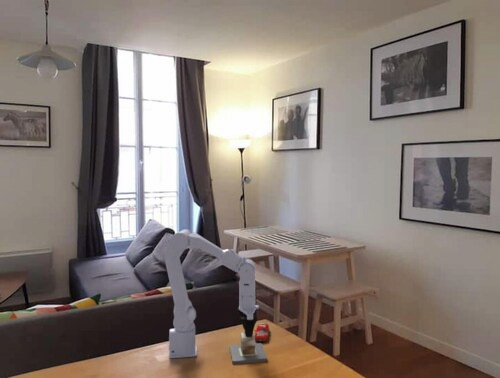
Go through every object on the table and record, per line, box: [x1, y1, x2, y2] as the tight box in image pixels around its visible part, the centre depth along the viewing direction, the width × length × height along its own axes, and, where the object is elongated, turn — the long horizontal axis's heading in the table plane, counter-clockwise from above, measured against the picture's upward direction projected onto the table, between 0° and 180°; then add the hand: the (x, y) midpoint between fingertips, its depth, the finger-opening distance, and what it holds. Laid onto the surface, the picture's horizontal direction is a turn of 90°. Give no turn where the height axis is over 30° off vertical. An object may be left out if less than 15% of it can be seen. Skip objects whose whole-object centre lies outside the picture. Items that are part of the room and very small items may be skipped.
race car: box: [254, 322, 270, 343], centre depth 154 cm, size 13×5×4 cm, turn 171°
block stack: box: [240, 331, 256, 355], centre depth 138 cm, size 4×4×6 cm
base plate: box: [229, 342, 268, 365], centre depth 138 cm, size 12×12×1 cm
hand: (247, 332), depth 138 cm, fingers open, 7 cm apart
